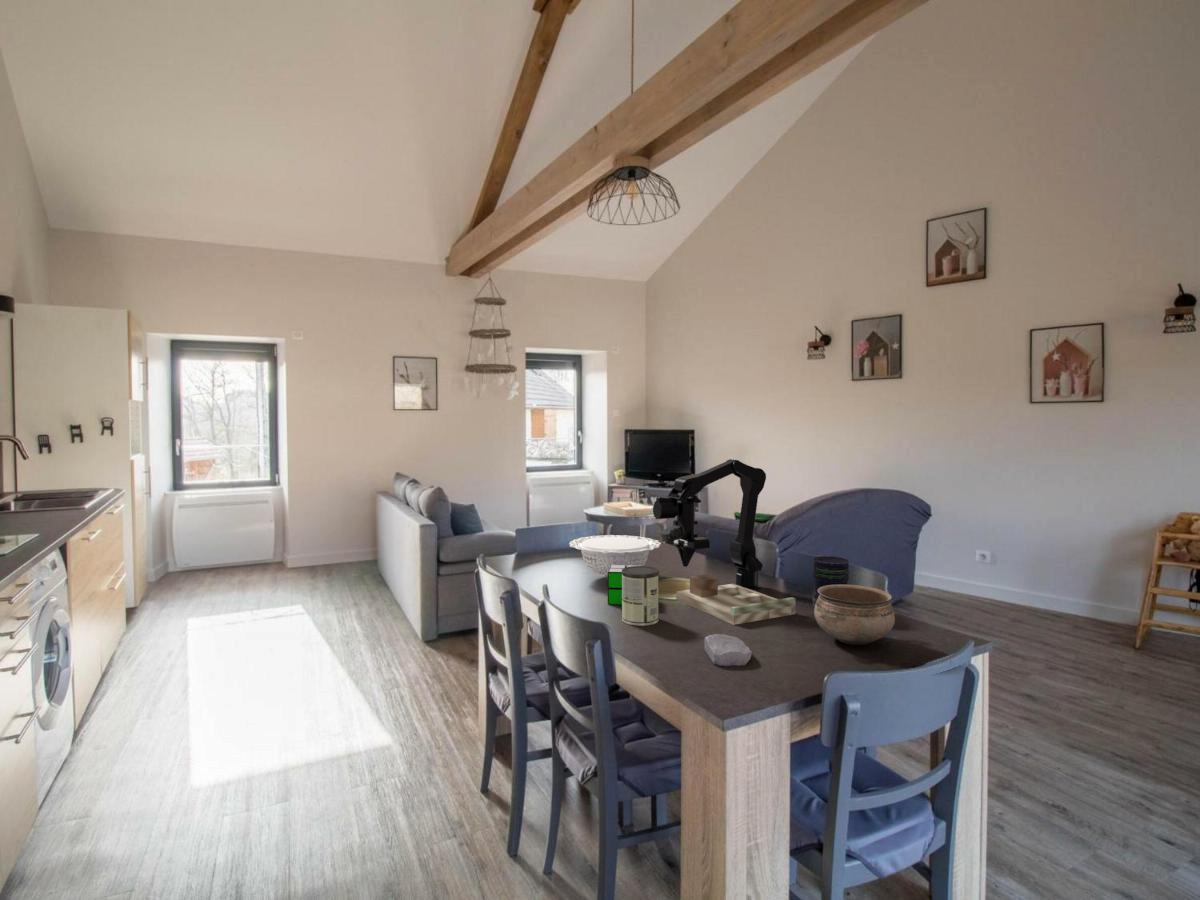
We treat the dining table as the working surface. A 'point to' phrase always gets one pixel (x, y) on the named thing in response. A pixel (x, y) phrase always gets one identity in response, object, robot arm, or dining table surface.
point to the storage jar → (829, 573)
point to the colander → (614, 550)
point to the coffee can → (640, 595)
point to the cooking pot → (854, 613)
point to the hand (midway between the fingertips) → (685, 566)
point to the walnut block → (703, 585)
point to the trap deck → (739, 604)
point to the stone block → (726, 650)
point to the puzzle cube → (615, 584)
